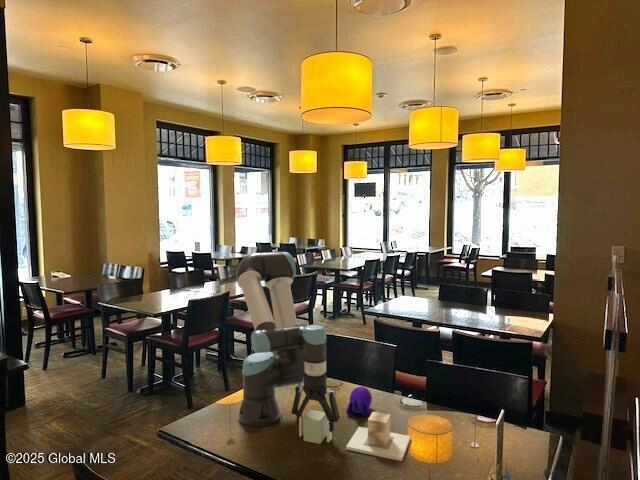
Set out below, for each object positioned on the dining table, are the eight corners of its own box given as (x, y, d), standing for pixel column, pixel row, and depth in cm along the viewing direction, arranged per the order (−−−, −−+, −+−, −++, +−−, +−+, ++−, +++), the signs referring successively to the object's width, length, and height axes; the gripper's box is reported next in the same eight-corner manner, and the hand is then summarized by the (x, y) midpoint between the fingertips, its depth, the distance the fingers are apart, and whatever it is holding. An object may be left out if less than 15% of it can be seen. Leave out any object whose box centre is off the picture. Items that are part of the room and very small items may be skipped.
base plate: (346, 449, 142) (346, 445, 141) (358, 429, 154) (358, 425, 154) (401, 461, 135) (401, 457, 135) (410, 439, 148) (410, 435, 148)
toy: (367, 425, 159) (373, 403, 174) (367, 401, 158) (373, 381, 172) (344, 423, 162) (352, 401, 176) (343, 398, 160) (351, 378, 174)
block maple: (367, 443, 143) (367, 419, 142) (372, 434, 148) (372, 411, 148) (385, 447, 140) (386, 422, 140) (390, 438, 146) (390, 414, 145)
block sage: (303, 440, 147) (303, 417, 147) (310, 432, 153) (310, 409, 152) (320, 444, 145) (320, 420, 144) (326, 435, 150) (326, 412, 150)
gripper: (280, 371, 148) (281, 436, 149) (342, 381, 140) (342, 449, 141) (290, 364, 155) (290, 426, 156) (349, 372, 147) (349, 438, 148)
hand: (315, 437), depth 149 cm, fingers open, 9 cm apart
